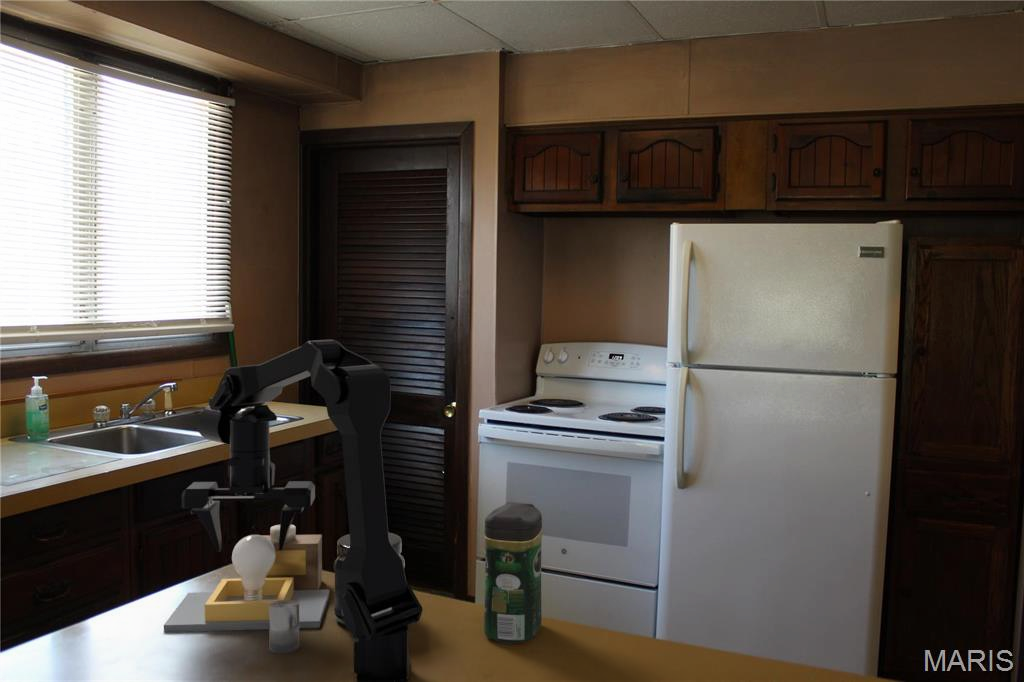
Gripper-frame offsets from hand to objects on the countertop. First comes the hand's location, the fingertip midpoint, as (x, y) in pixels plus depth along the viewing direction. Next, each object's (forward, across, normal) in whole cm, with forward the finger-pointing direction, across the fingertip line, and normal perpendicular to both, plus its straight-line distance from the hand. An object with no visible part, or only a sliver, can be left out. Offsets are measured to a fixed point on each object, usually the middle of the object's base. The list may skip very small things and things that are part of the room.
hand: (250, 550), depth 130 cm
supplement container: (+10, -18, +3) cm, 21 cm away
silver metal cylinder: (+10, -7, +13) cm, 18 cm away
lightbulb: (+9, 0, 0) cm, 9 cm away
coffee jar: (+10, -39, +10) cm, 42 cm away
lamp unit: (+10, -3, -11) cm, 15 cm away
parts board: (+10, 0, 0) cm, 10 cm away
